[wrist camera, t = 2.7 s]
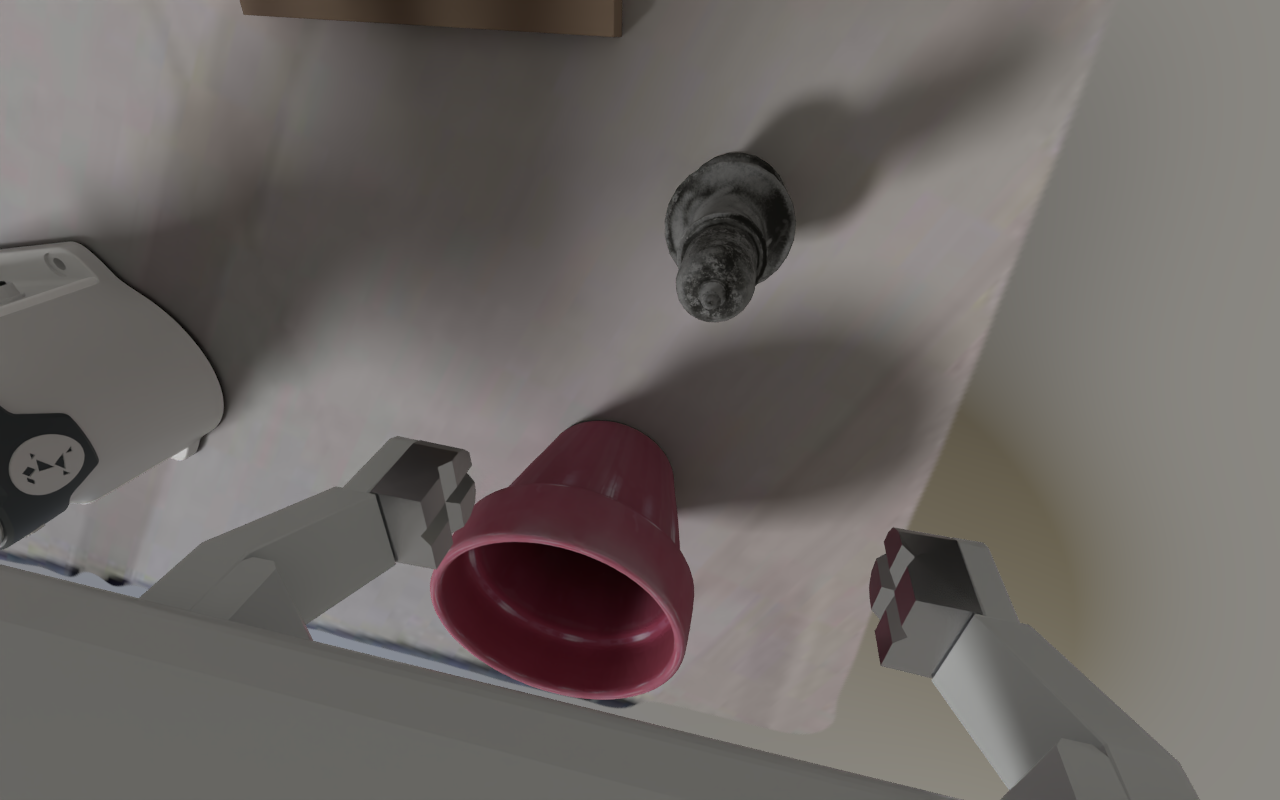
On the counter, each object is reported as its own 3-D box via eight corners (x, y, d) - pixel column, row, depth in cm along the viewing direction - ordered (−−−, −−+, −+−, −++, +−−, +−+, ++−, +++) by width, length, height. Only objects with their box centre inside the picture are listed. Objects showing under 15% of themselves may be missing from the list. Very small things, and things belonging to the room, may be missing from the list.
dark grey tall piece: (653, 219, 29) (590, 315, 19) (726, 118, 26) (694, 172, 16) (739, 286, 30) (721, 410, 20) (819, 198, 27) (844, 294, 17)
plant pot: (643, 567, 44) (602, 731, 34) (490, 479, 42) (396, 625, 32) (753, 462, 36) (743, 635, 26) (570, 348, 34) (480, 486, 24)
